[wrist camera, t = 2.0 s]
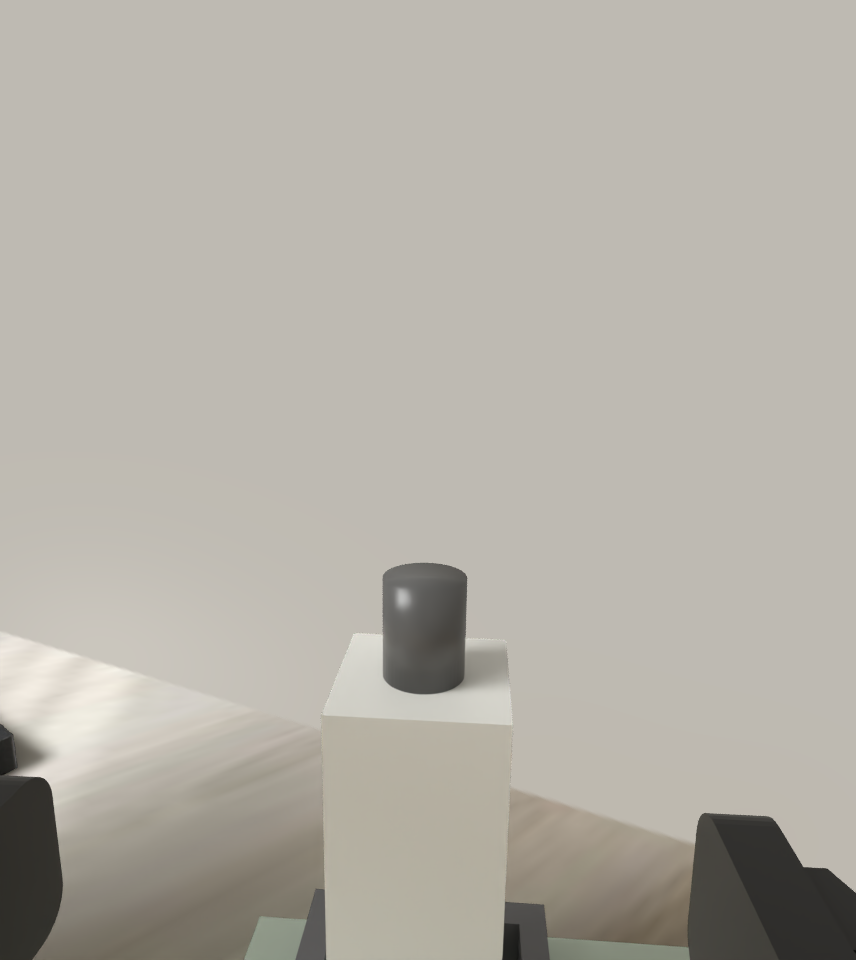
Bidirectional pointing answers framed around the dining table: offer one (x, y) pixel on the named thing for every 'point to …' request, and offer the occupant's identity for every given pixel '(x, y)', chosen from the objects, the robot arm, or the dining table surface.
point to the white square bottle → (417, 781)
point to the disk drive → (7, 751)
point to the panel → (526, 948)
